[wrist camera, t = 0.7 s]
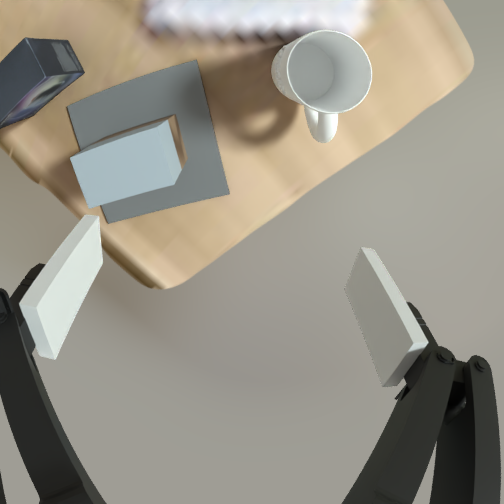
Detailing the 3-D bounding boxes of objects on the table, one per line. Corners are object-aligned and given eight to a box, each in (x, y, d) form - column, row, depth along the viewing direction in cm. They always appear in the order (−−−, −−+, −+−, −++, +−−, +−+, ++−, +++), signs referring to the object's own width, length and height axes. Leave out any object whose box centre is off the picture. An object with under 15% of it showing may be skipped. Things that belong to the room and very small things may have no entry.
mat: (68, 105, 34) (67, 106, 34) (196, 60, 33) (196, 59, 33) (109, 222, 43) (108, 223, 43) (229, 193, 42) (229, 194, 42)
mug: (277, 135, 39) (293, 160, 28) (264, 44, 32) (276, 31, 22) (340, 129, 38) (377, 152, 28) (331, 40, 32) (368, 30, 22)
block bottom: (104, 137, 37) (88, 146, 32) (175, 113, 36) (167, 119, 32) (118, 178, 40) (104, 191, 35) (187, 158, 39) (181, 169, 35)
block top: (88, 146, 32) (69, 157, 28) (167, 119, 32) (156, 126, 27) (104, 191, 35) (89, 208, 31) (181, 169, 35) (174, 184, 31)
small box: (33, 119, 34) (-12, 137, 25) (15, 85, 31) (-31, 96, 22) (87, 74, 32) (45, 79, 23) (67, 38, 29) (23, 34, 20)
